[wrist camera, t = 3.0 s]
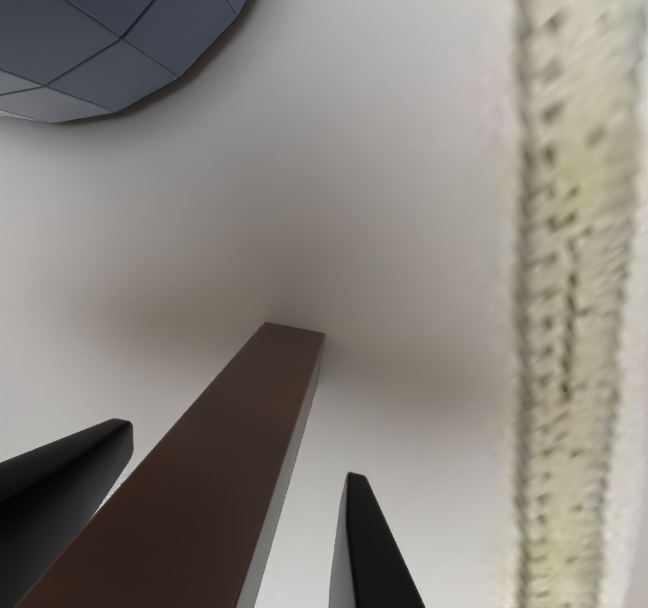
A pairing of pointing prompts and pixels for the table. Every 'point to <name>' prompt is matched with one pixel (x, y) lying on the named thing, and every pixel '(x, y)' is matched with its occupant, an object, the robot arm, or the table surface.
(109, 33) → the bowl
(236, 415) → the dark brown bar
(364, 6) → the table surface
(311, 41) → the table surface
